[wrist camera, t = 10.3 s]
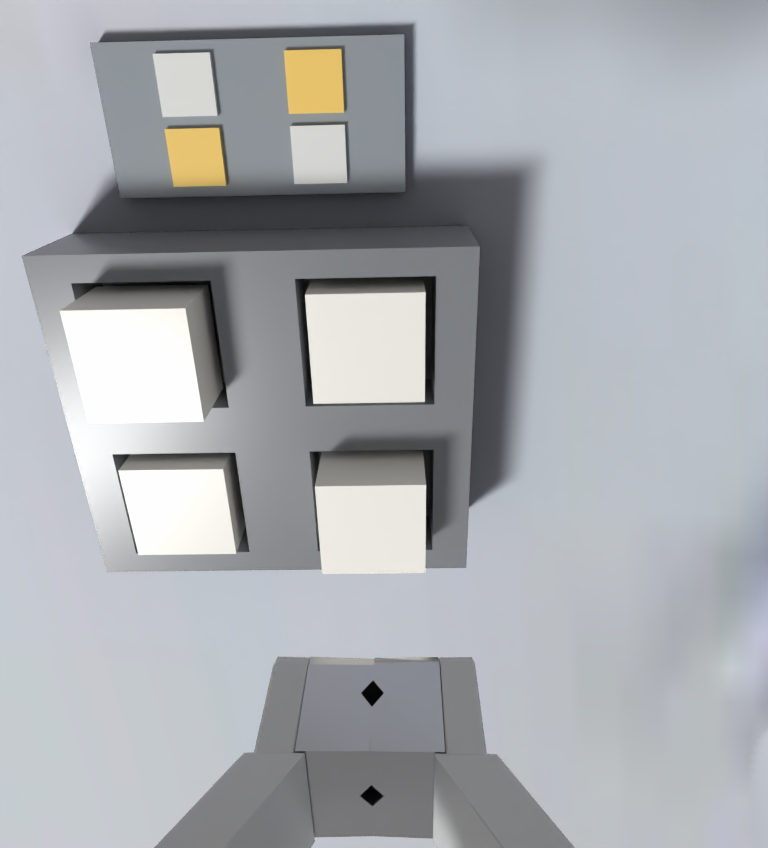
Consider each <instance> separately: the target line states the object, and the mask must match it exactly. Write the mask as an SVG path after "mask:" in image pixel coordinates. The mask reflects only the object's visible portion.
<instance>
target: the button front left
mask: <svg viewBox="0 0 768 848" xmlns="http://www.w3.org/2000/svg"><path fill="white" fill-rule="evenodd" d="M60 315H61V319H62V323H63V327H64V330H65V334H66V338H67V342H68V346H69V350H70V354H71V358H72V362H73V366H74V370H75V374H76V378H77V382H78V385H79V389H80V393H81V397H82V401H83V405H84V409H85V413H86V417H87V421H88V424H99V423H163V422H204V421H205V419H206V417H207V416H208V414H209V412H210V410H211V409H212V407H213V405H214V403H215V402H216V400H217V398H218V396H219V395H220V393H221V391H222V389H223V384H222V377H221V370H220V364H219V357H218V350H217V343H216V336H215V329H214V322H213V316H212V309H211V302H210V295H209V288H208V285H161V286H110V287H95V288H93V289H92V290H90V291H89V292H87V293H86V294H84V295H83V296H81V297H80V298H78V299H77V300H75V301H74V302H72V303H71V304H69V305H67V306H66V307H64V308H63V309H61V310H60Z"/></svg>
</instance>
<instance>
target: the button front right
mask: <svg viewBox="0 0 768 848" xmlns="http://www.w3.org/2000/svg"><path fill="white" fill-rule="evenodd" d="M305 302H306V315H307V328H308V341H309V353H310V366H311V379H312V391H313V404H333V403H395V402H425V302H426V292H425V286H424V280H423V276H419V277H368V278H318V279H311V281H310V284H309V286H308V289H307V291H306V293H305Z"/></svg>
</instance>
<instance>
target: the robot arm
mask: <svg viewBox="0 0 768 848" xmlns="http://www.w3.org/2000/svg"><path fill="white" fill-rule="evenodd" d="M349 836H385V837H410V838H433V843H434V844H435V846H436V848H575V847H574V846H573V845H572V844H571V843H570V841H569V840H568V839H567V838H566V837H565V835H564V834H563V833H562V832H561V831H560V829H559V828H558V827H557V826H556V825H555V823H554V822H553V821H552V820H551V819H550V817H549V816H548V815H547V814H546V813H545V811H544V810H543V809H542V808H541V807H540V805H539V804H538V803H537V802H536V801H535V799H534V798H533V797H532V796H531V795H530V793H529V792H528V791H527V790H526V789H525V787H524V786H523V785H522V784H521V783H520V781H519V780H518V779H517V778H516V777H515V775H514V774H513V773H512V772H511V771H510V769H509V768H508V767H507V766H506V765H505V763H504V762H503V761H502V760H501V759H500V757H499V756H498V755H497V754H487V753H486V745H485V738H484V730H483V722H482V715H481V707H480V699H479V692H478V684H477V677H476V669H475V663H474V661H473V659H472V657H458V658H439V659H438V657H420V658H375V659H365V658H330V657H278V658H277V659H276V661H275V663H274V665H273V669H272V674H271V678H270V683H269V687H268V692H267V696H266V701H265V705H264V710H263V714H262V719H261V723H260V728H259V732H258V737H257V741H256V746H255V750H254V752H253V753H243V754H242V755H241V756H240V757H239V758H238V760H237V761H236V762H235V763H234V764H233V765H232V766H231V767H230V768H229V769H228V770H227V771H226V772H225V773H224V774H223V775H222V776H221V778H220V779H219V780H218V781H217V782H216V783H215V784H214V785H213V786H212V787H211V788H210V789H209V790H208V791H207V792H206V793H205V795H204V796H203V797H202V798H201V799H200V800H199V801H198V802H197V803H196V804H195V805H194V806H193V807H192V808H191V809H190V810H189V811H188V813H187V814H186V815H185V816H184V817H183V818H182V819H181V820H180V821H179V822H178V823H177V824H176V825H175V826H174V827H173V828H172V829H171V831H170V832H169V833H168V834H167V835H166V836H165V837H164V838H163V839H162V840H161V841H160V842H159V843H158V844H157V845H156V846H155V847H154V848H311V846H312V845H313V843H314V842H315V840H314V837H349Z"/></svg>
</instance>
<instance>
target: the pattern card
mask: <svg viewBox="0 0 768 848" xmlns="http://www.w3.org/2000/svg"><path fill="white" fill-rule="evenodd" d="M90 46H91V51H92V56H93V61H94V66H95V72H96V77H97V82H98V87H99V92H100V97H101V102H102V107H103V112H104V118H105V123H106V128H107V133H108V138H109V143H110V148H111V153H112V159H113V164H114V169H115V174H116V179H117V184H118V189H119V194H120V198H161V197H206V196H251V195H296V194H341V193H386V192H405V63H404V34H397V35H360V36H322V37H285V38H248V39H210V40H173V41H136V42H98V43H90Z"/></svg>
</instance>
